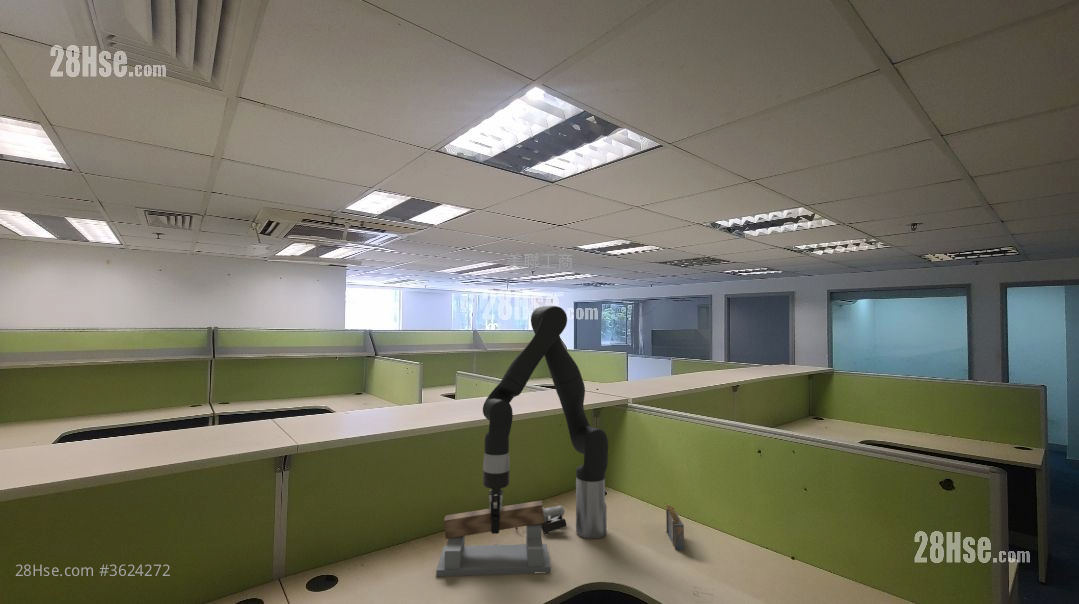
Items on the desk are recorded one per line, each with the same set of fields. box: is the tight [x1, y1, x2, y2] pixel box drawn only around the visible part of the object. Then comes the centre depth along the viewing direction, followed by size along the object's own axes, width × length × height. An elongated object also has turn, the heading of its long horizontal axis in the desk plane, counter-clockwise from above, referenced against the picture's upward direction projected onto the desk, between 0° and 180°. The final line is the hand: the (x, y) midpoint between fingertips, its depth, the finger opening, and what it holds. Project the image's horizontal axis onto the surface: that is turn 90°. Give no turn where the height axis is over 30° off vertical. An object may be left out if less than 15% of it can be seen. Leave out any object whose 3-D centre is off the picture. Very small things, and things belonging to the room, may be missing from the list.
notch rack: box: [435, 524, 552, 577], centre depth 122 cm, size 30×13×9 cm, turn 94°
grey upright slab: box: [664, 502, 685, 551], centre depth 135 cm, size 11×3×10 cm, turn 176°
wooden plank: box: [443, 500, 545, 540], centre depth 125 cm, size 28×4×5 cm, turn 94°
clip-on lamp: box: [515, 505, 567, 535], centre depth 144 cm, size 12×6×18 cm
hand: (495, 529), depth 125 cm, fingers closed on wooden plank, 3 cm apart
